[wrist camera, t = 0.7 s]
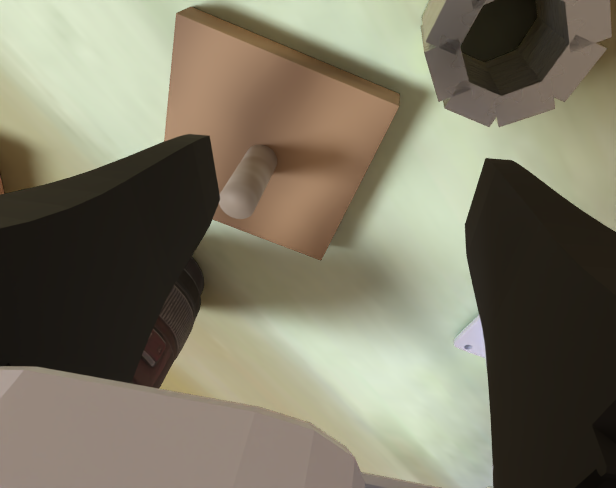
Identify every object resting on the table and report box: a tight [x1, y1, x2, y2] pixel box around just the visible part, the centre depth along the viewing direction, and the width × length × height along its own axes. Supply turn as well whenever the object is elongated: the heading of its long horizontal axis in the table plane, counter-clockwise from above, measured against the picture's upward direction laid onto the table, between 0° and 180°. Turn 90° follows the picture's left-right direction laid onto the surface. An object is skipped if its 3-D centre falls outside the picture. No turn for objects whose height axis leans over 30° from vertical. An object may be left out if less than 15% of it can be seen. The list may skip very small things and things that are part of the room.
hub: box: [421, 0, 612, 127], centre depth 14 cm, size 5×5×4 cm
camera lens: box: [131, 257, 204, 389], centre depth 23 cm, size 8×8×15 cm
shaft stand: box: [164, 7, 400, 260], centre depth 19 cm, size 10×10×6 cm
